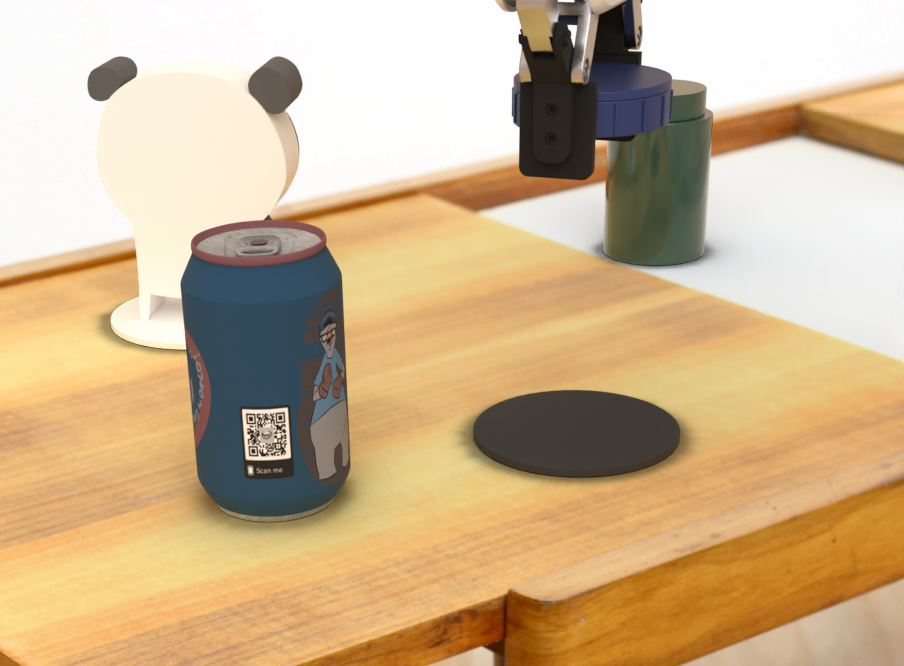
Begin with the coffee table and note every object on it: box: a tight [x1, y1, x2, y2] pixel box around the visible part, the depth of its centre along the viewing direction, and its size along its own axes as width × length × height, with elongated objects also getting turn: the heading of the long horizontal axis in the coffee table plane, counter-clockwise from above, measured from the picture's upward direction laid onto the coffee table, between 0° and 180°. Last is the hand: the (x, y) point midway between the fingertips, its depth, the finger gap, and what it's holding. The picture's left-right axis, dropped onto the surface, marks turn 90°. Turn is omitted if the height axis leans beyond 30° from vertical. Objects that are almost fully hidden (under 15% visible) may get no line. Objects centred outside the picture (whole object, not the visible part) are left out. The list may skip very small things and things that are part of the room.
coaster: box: [472, 389, 681, 478], centre depth 76 cm, size 10×10×1 cm
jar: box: [602, 78, 714, 266], centre depth 100 cm, size 7×7×11 cm
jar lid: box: [511, 62, 673, 138], centre depth 68 cm, size 7×7×2 cm
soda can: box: [180, 219, 352, 523], centre depth 68 cm, size 7×7×12 cm
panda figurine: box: [86, 55, 304, 351], centre depth 90 cm, size 12×11×15 cm
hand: (580, 153), depth 70 cm, fingers closed on jar lid, 6 cm apart
